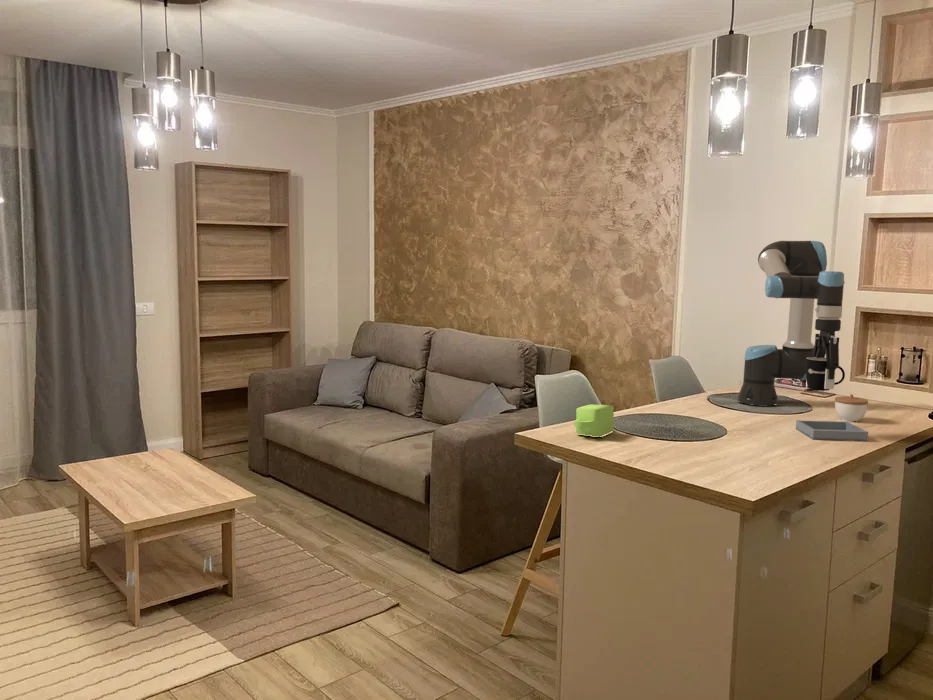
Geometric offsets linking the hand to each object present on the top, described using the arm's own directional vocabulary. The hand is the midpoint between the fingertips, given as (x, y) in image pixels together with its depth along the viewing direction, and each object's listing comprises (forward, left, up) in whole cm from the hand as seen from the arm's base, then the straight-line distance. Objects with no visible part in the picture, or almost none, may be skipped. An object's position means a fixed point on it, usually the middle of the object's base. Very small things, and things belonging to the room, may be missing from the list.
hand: (823, 386), depth 247 cm
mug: (+1, 0, -1) cm, 1 cm away
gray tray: (+1, +3, -16) cm, 16 cm away
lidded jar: (-23, +20, -16) cm, 35 cm away
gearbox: (+10, -76, -16) cm, 78 cm away
